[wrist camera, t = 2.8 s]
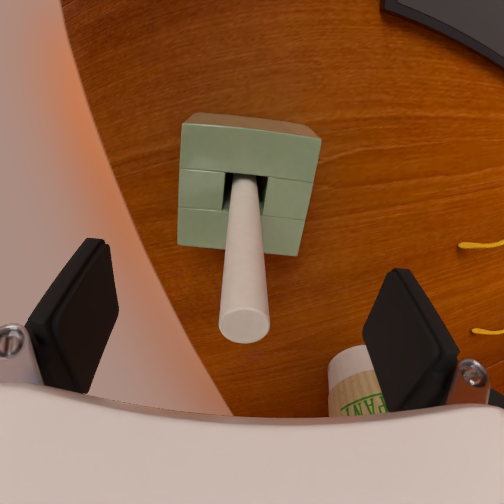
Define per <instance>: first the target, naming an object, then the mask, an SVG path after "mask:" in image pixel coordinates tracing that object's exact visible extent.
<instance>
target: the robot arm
mask: <svg viewBox="0 0 504 504" xmlns="http://www.w3.org/2000/svg"><path fill="white" fill-rule="evenodd" d="M118 312H119V306H118V301H117V294H116V288H115V282H114V275H113V268H112V261H111V254H110V247H109V245H108V244H105V242H104V240H103V239H94V238H87V239H85V241H84V242H83V243H82V245H81V246H80V247H79V248H78V250H77V251H76V252H75V254H74V255H73V256H72V258H71V259H70V260H69V261H68V263H67V264H66V265H65V267H64V268H63V269H62V271H61V272H60V273H59V275H58V276H57V278H56V279H55V280H54V282H53V283H52V284H51V286H50V287H49V289H48V290H47V291H46V293H45V295H44V296H43V297H42V299H41V300H40V302H39V303H38V305H37V306H36V308H35V309H34V311H33V312H32V314H31V315H30V317H29V318H28V321H27V323H26V324H25V326H22V325H19V324H12V323H11V324H6V325H3V326H1V327H0V504H504V396H503V395H501V394H500V393H498V392H497V391H495V390H493V389H492V388H490V386H491V377H490V374H489V372H488V370H487V369H486V367H485V366H484V365H483V364H482V363H481V362H479V361H478V360H476V359H473V358H470V357H465V358H462V359H460V360H459V361H458V360H457V358H456V357H457V355H458V354H459V353H460V351H459V349H458V347H457V345H456V344H455V342H454V340H453V338H452V337H451V335H450V333H449V331H448V330H447V328H446V326H445V325H444V323H443V321H442V320H441V318H440V316H439V315H438V313H437V311H436V310H435V308H434V307H433V305H432V303H431V302H430V300H429V299H428V297H427V295H426V294H425V292H424V291H423V289H422V288H421V286H420V285H419V283H418V282H417V280H416V279H415V277H414V276H413V274H412V273H411V271H410V270H408V269H400V268H394V269H392V270H391V272H388V273H387V275H386V277H385V279H384V282H383V284H382V286H381V289H380V291H379V294H378V296H377V298H376V301H375V303H374V305H373V307H372V310H371V312H370V314H369V316H368V319H367V321H366V323H365V325H364V327H363V332H362V335H363V339H364V342H365V345H366V348H367V351H368V354H369V356H370V359H371V362H372V365H373V368H374V371H375V374H376V377H377V380H378V383H379V386H380V389H381V393H382V396H383V399H384V402H385V405H386V408H387V411H388V412H390V413H381V414H371V415H359V416H344V417H322V418H260V417H239V416H223V415H211V414H200V413H191V412H183V411H175V410H167V409H160V408H153V407H147V406H141V405H135V404H129V403H125V402H119V401H114V400H108V399H104V398H99V397H94V396H90V395H85V394H87V393H88V391H89V389H90V386H91V383H92V380H93V378H94V375H95V372H96V370H97V367H98V364H99V362H100V359H101V357H102V354H103V352H104V349H105V347H106V344H107V341H108V339H109V336H110V334H111V332H112V329H113V327H114V324H115V322H116V320H117V317H118ZM83 393H85V394H83Z"/></svg>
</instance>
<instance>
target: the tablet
mask: <svg viewBox="0 0 504 504" xmlns="http://www.w3.org/2000/svg"><path fill="white" fill-rule="evenodd" d="M380 11H382V12H385V13H388V14H391V15H393V16H396V17H399V18H401V19H404V20H407V21H409V22H412V23H414V24H416V25H419V26H421V27H423V28H426V29H428V30H430V31H432V32H435V33H437V34H439V35H441V36H443V37H445V38H447V39H449V40H451V41H453V42H455V43H457V44H459V45H461V46H463V47H465V48H467V49H468V50H470V51H472V52H474V53H476V54H477V55H479V56H481V57H483V58H484V59H486V60H488V61H489V62H491V63H493V64H494V65H496V66H497V67H499V68H501V69H502V70H504V0H381V2H380Z"/></svg>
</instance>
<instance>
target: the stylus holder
mask: <svg viewBox="0 0 504 504" xmlns="http://www.w3.org/2000/svg"><path fill="white" fill-rule="evenodd" d="M321 143H322V139H321V138H320V137H318V136H317V135H316V134H315V133H314V132H313V131H312V130H311V129H310V128H309V127H308V126H307V125H303V124H297V123H291V122H284V121H277V120H270V119H262V118H254V117H245V116H236V115H225V114H213V113H200V112H196V113H194V114H193V115H192V116H191V117H190V118H188V119H187V120H186V121H185V122H184V123H182V132H181V148H180V170H179V194H178V206H179V207H178V241H177V244H178V245H184V246H194V247H204V248H215V249H226V239H227V229H228V219H229V209H230V200H231V191H232V184H229V183H226V180H227V172H230V173H240V174H249V175H258V176H261V178H260V185H259V187H258V186H257V189H258V199H259V209H260V219H261V230H262V240H263V251H264V253H267V254H277V255H288V256H297V255H298V251H299V246H300V242H301V238H302V233H303V229H304V224H305V219H306V215H307V211H308V206H309V202H310V197H311V192H312V188H313V182H314V178H315V173H316V168H317V163H318V158H319V153H320V148H321Z"/></svg>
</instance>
